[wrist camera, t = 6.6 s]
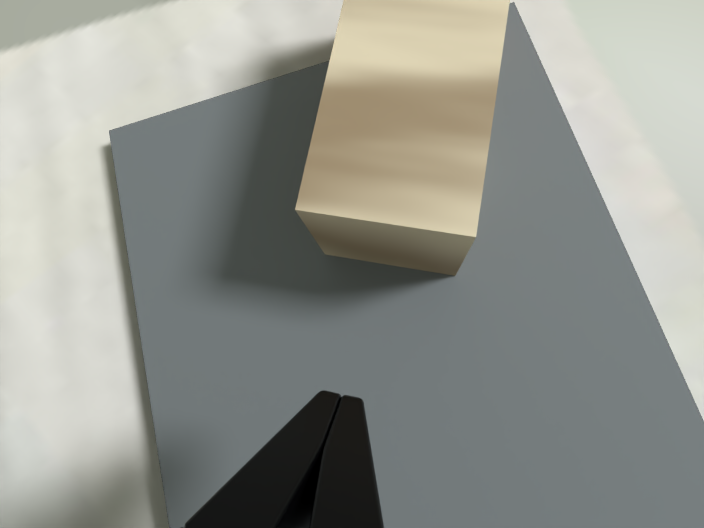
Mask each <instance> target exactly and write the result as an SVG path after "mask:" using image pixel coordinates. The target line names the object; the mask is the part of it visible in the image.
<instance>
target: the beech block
mask: <svg viewBox="0 0 704 528" xmlns="http://www.w3.org/2000/svg"><path fill="white" fill-rule="evenodd" d="M509 3H510V0H344V1H343V5H342V10H341V14H340V18H339V22H338V27H337V31H336V35H335V40H334V44H333V48H332V53H331V57H330V61H329V65H328V70H327V74H326V78H325V83H324V87H323V91H322V96H321V100H320V104H319V108H318V113H317V117H316V121H315V126H314V130H313V134H312V139H311V143H310V147H309V151H308V156H307V160H306V164H305V169H304V173H303V177H302V182H301V186H300V190H299V194H298V199H297V203H296V207H295V211H296V212H297V214H298V215H299V217H300V218H301V220H302V221H303V222H304V224H305V225H306V227H307V228H308V230H309V231H310V233H311V234H312V236H313V237H314V239H315V240H316V242H317V243H318V245H319V246H320V248H321V249H322V251H323V252H324V254H326V255H332V256H338V257H344V258H350V259H356V260H362V261H368V262H374V263H380V264H386V265H392V266H399V267H405V268H411V269H417V270H423V271H429V272H435V273H441V274H447V275H453V276H456V274H457V272H458V270H459V268H460V266H461V264H462V263H463V261H464V259H465V257H466V255H467V253H468V251H469V249H470V248H471V246H472V244H473V242H474V240H475V238H476V234H477V227H478V220H479V213H480V206H481V199H482V192H483V185H484V178H485V171H486V164H487V157H488V150H489V143H490V136H491V129H492V122H493V115H494V108H495V101H496V94H497V87H498V80H499V73H500V66H501V59H502V52H503V45H504V38H505V31H506V24H507V17H508V10H509Z"/></svg>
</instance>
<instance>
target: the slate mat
mask: <svg viewBox="0 0 704 528" xmlns="http://www.w3.org/2000/svg"><path fill="white" fill-rule="evenodd" d="M328 65H329V61H327V62H324V63H321V64H318V65H314V66H311V67H308V68H305V69H302V70H299V71H296V72H292V73H289V74H286V75H283V76H280V77H277V78H273V79H270V80H267V81H264V82H261V83H258V84H255V85H251V86H248V87H245V88H242V89H239V90H236V91H233V92H229V93H226V94H223V95H220V96H217V97H214V98H211V99H207V100H204V101H201V102H198V103H195V104H192V105H188V106H185V107H182V108H179V109H176V110H173V111H170V112H166V113H163V114H160V115H157V116H154V117H151V118H148V119H144V120H141V121H138V122H135V123H132V124H129V125H126V126H122V127H119V128H116V129H113V130H110V131H109V134H110V141H111V147H112V154H113V161H114V167H115V174H116V180H117V187H118V193H119V200H120V206H121V213H122V220H123V226H124V233H125V239H126V246H127V252H128V259H129V265H130V272H131V279H132V285H133V292H134V298H135V305H136V311H137V318H138V325H139V331H140V338H141V344H142V351H143V357H144V364H145V370H146V377H147V384H148V390H149V397H150V403H151V410H152V416H153V423H154V430H155V436H156V443H157V449H158V456H159V462H160V469H161V475H162V482H163V489H164V495H165V502H166V508H167V515H168V521H169V528H180V527H184V524H185V522H186V521H187V520H189V519H190V518H191V517H192V516H193V515H194V514H195V513H196V512H197V511H198V510H199V509H200V508H201V507H202V506H203V505H204V504H205V503H206V502H207V501H208V500H209V499H210V498H211V497H212V496H213V495H214V494H215V493H216V492H217V491H218V490H219V489H220V488H221V487H222V486H223V485H224V484H225V483H226V482H227V481H228V480H229V479H230V478H231V477H232V476H233V475H235V474H236V473H237V472H238V471H239V470H240V469H241V468H242V467H243V466H244V465H245V464H246V463H247V462H248V461H249V460H250V459H251V458H252V457H253V456H254V455H255V454H256V453H257V452H258V451H259V450H260V449H261V448H262V447H263V446H264V445H265V444H266V443H267V442H268V441H269V440H270V439H271V438H272V437H273V436H274V435H275V434H276V433H277V432H278V431H279V430H281V429H282V428H283V427H284V426H285V425H286V424H287V423H288V422H289V421H290V420H291V419H292V418H293V417H294V416H295V415H296V414H297V413H298V412H299V411H300V410H301V409H302V408H303V407H304V406H305V405H306V404H307V403H308V402H309V401H310V400H311V399H312V398H313V397H314V396H315V395H316V394H317V393H318V392H320V391H322V390H325V391H330V392H335V393H339V394H340V395H341V397H342V396H343V395H349V396H354V397H358V398H361V399H362V400H363V402H364V407H365V413H366V420H367V426H368V432H369V438H370V444H371V450H372V456H373V462H374V468H375V475H376V481H377V487H378V493H379V499H380V505H381V511H382V517H383V523H384V528H704V421H703V419H702V416H701V414H700V412H699V410H698V408H697V405H696V403H695V401H694V399H693V397H692V394H691V392H690V390H689V388H688V386H687V383H686V381H685V379H684V377H683V374H682V372H681V370H680V368H679V366H678V363H677V361H676V359H675V357H674V355H673V352H672V350H671V348H670V346H669V344H668V341H667V339H666V337H665V335H664V333H663V330H662V328H661V326H660V324H659V321H658V319H657V317H656V315H655V313H654V310H653V308H652V306H651V304H650V302H649V299H648V297H647V295H646V293H645V291H644V288H643V286H642V284H641V282H640V279H639V277H638V275H637V273H636V271H635V268H634V266H633V264H632V262H631V260H630V257H629V255H628V253H627V251H626V249H625V246H624V244H623V242H622V240H621V238H620V235H619V233H618V231H617V229H616V226H615V224H614V222H613V220H612V218H611V215H610V213H609V211H608V209H607V207H606V204H605V202H604V200H603V198H602V196H601V193H600V191H599V189H598V187H597V185H596V182H595V180H594V178H593V176H592V173H591V171H590V169H589V167H588V165H587V162H586V160H585V158H584V156H583V154H582V151H581V149H580V147H579V145H578V143H577V140H576V138H575V136H574V134H573V131H572V129H571V127H570V125H569V123H568V120H567V118H566V116H565V114H564V112H563V109H562V107H561V105H560V103H559V101H558V98H557V96H556V94H555V92H554V90H553V87H552V85H551V83H550V81H549V78H548V76H547V74H546V72H545V70H544V67H543V65H542V63H541V61H540V59H539V56H538V54H537V52H536V50H535V48H534V45H533V43H532V41H531V39H530V36H529V34H528V32H527V30H526V28H525V25H524V23H523V21H522V19H521V17H520V14H519V12H518V10H517V8H516V6H515V3H514V2H513V3H510V4H509V10H508V17H507V24H506V31H505V38H504V45H503V52H502V59H501V66H500V73H499V80H498V87H497V94H496V101H495V108H494V115H493V122H492V129H491V136H490V143H489V150H488V157H487V164H486V171H485V178H484V185H483V192H482V199H481V206H480V213H479V220H478V227H477V234H476V238H475V240H474V242H473V244H472V246H471V248H470V249H469V251H468V253H467V255H466V257H465V259H464V261H463V263H462V264H461V266H460V268H459V270H458V272H457V274H456V276H453V275H447V274H441V273H435V272H429V271H423V270H417V269H411V268H405V267H399V266H392V265H386V264H380V263H374V262H368V261H362V260H356V259H350V258H344V257H338V256H332V255H326V254H324V252H323V251H322V249H321V248H320V246H319V245H318V243H317V242H316V240H315V239H314V237H313V236H312V234H311V233H310V231H309V230H308V228H307V227H306V225H305V224H304V222H303V221H302V220H301V218H300V217H299V215H298V214H297V212H296V211H295V207H296V203H297V199H298V194H299V190H300V186H301V182H302V177H303V173H304V169H305V164H306V160H307V156H308V151H309V147H310V143H311V139H312V134H313V130H314V126H315V121H316V117H317V113H318V108H319V104H320V100H321V96H322V91H323V87H324V83H325V78H326V74H327V70H328Z"/></svg>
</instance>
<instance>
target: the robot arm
mask: <svg viewBox="0 0 704 528" xmlns="http://www.w3.org/2000/svg"><path fill="white" fill-rule="evenodd" d="M180 528H384V523H383V517H382V511H381V505H380V499H379V493H378V487H377V481H376V475H375V468H374V462H373V456H372V450H371V444H370V438H369V432H368V426H367V420H366V413H365V407H364V402H363V400H362V399H361V398H358V397H354V396H349V395H343V396H342V397H341V395H340V394H339V393H335V392H330V391H325V390H322V391H320V392H318V393H317V394H316V395H315V396H314V397H313V398H312V399H311V400H310V401H309V402H308V403H307V404H306V405H305V406H304V407H303V408H302V409H301V410H300V411H299V412H298V413H297V414H296V415H295V416H294V417H293V418H292V419H291V420H290V421H289V422H288V423H287V424H286V425H285V426H284V427H283V428H282V429H281V430H279V431H278V432H277V433H276V434H275V435H274V436H273V437H272V438H271V439H270V440H269V441H268V442H267V443H266V444H265V445H264V446H263V447H262V448H261V449H260V450H259V451H258V452H257V453H256V454H255V455H254V456H253V457H252V458H251V459H250V460H249V461H248V462H247V463H246V464H245V465H244V466H243V467H242V468H241V469H240V470H239V471H238V472H237V473H236V474H235V475H233V476H232V477H231V478H230V479H229V480H228V481H227V482H226V483H225V484H224V485H223V486H222V487H221V488H220V489H219V490H218V491H217V492H216V493H215V494H214V495H213V496H212V497H211V498H210V499H209V500H208V501H207V502H206V503H205V504H204V505H203V506H202V507H201V508H200V509H199V510H198V511H197V512H196V513H195V514H194V515H193V516H192V517H191V518H190V519H189V520H187V521H186V522H185V524H184V527H180Z"/></svg>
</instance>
